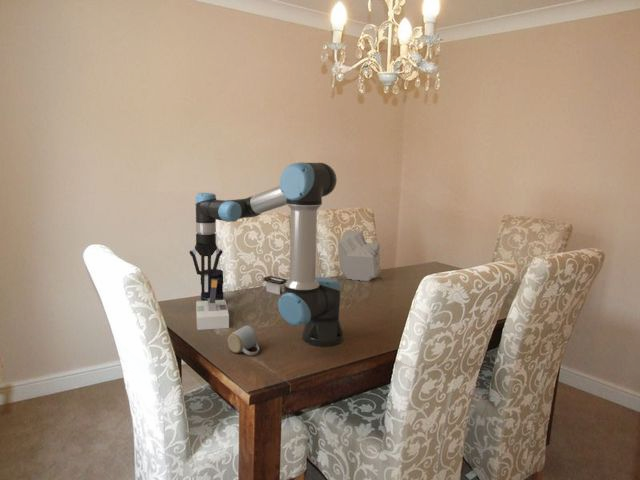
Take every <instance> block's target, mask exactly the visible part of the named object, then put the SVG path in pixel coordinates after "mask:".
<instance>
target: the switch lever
mask: <svg viewBox="0 0 640 480" xmlns="http://www.w3.org/2000/svg"><path fill="white" fill-rule="evenodd" d="M216 288H217V279H212V281H211V292H210V302H209V303H215V297H216Z"/></svg>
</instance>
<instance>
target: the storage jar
mask: <svg viewBox="0 0 640 480" xmlns="http://www.w3.org/2000/svg"><path fill="white" fill-rule="evenodd" d="M212 270H213V268H211V271H212ZM205 274H208V268H207V269H205ZM212 279H217V288H216V297H215V300H224V291H223V290H224V289H223V288H224V286H223V284H224V271H223V270H222V269H216V273H215V274H212V275H211V281H212ZM200 285H201V292H200V301H208V298H210V292H211V283H208V292H205V291H204V284H202V282H201V281H200Z"/></svg>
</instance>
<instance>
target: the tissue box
mask: <svg viewBox="0 0 640 480" xmlns="http://www.w3.org/2000/svg"><path fill="white" fill-rule="evenodd" d="M364 237H365V236H364V235H363V231H358V230H345V231H344V232H343V234H342V236H341V238H340V240H339V242H338V243H337V249H338V261H339V263H338V265H339V270H340V272H341V273H342V274H343V276H344V277H345V279H346V278H347V280H348V279H352V280H351V281H358V280H360V282H370V281H371V280H372V279H374V278H375V279H376V278H377V277H378V275H379V274H380V272H381V269H382V266H381V254H380V253H381V252H380V242H379V241H377V242H367V241H366V239H365V238H364ZM369 280H370V281H369Z"/></svg>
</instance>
